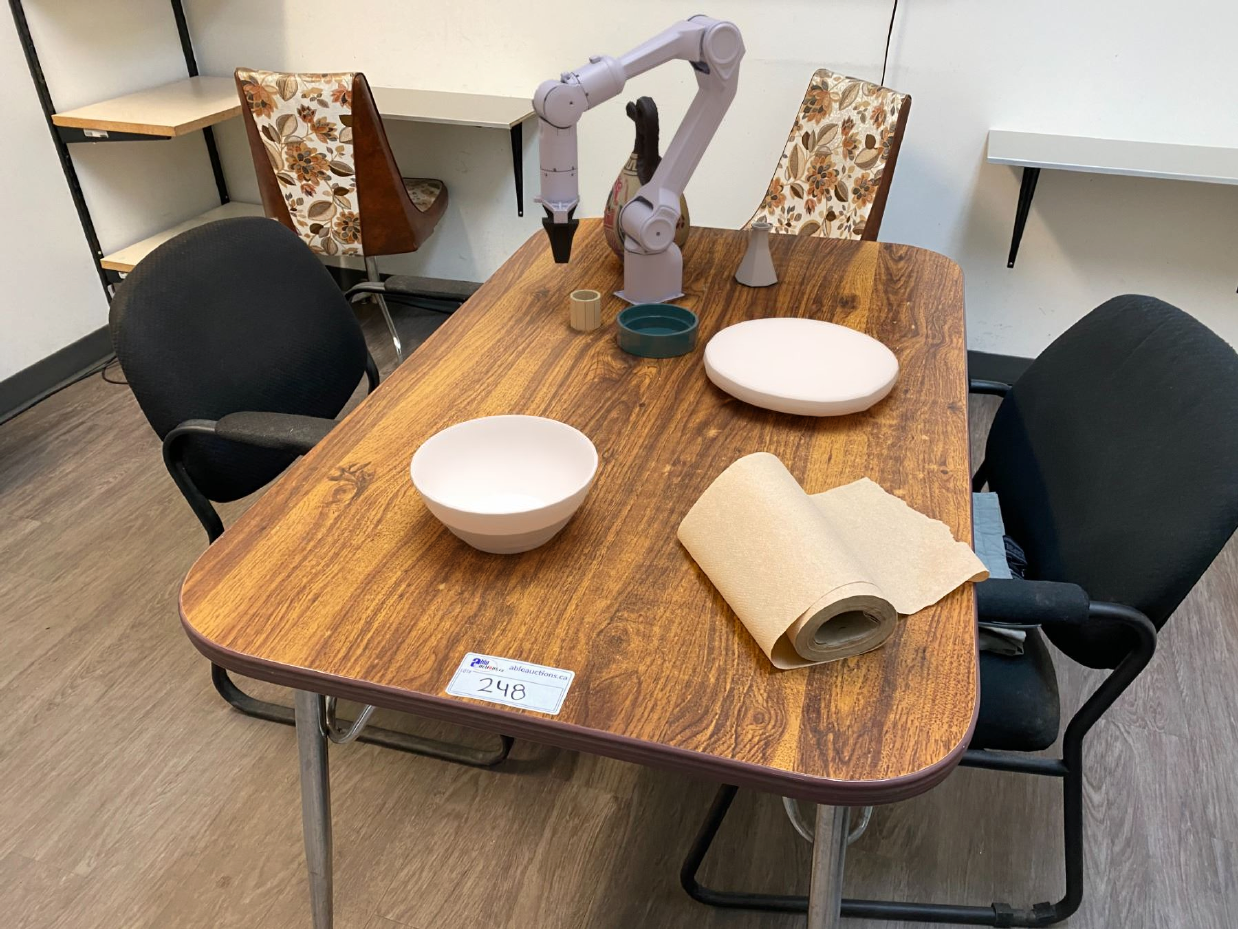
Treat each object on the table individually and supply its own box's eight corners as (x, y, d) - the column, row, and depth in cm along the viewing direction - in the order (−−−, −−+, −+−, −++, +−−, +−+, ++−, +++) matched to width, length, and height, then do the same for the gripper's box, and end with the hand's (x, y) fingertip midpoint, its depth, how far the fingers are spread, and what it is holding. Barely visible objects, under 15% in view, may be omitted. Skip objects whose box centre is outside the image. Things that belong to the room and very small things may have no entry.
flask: (727, 276, 163) (731, 221, 158) (762, 270, 165) (767, 215, 160) (749, 290, 157) (754, 233, 152) (784, 284, 160) (790, 227, 155)
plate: (716, 304, 140) (895, 319, 135) (713, 344, 142) (888, 361, 138) (693, 365, 115) (911, 387, 111) (689, 412, 118) (902, 436, 113)
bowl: (509, 457, 111) (505, 397, 106) (635, 517, 100) (636, 453, 96) (380, 531, 98) (370, 466, 94) (509, 608, 88) (503, 539, 83)
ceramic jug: (597, 255, 172) (595, 85, 156) (676, 250, 174) (683, 82, 158) (612, 288, 158) (613, 105, 142) (699, 282, 160) (709, 102, 144)
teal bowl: (662, 321, 146) (663, 296, 143) (713, 348, 138) (715, 322, 135) (600, 340, 140) (600, 315, 137) (650, 369, 131) (651, 342, 129)
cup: (589, 319, 146) (588, 287, 144) (606, 329, 143) (606, 296, 140) (564, 326, 144) (563, 293, 141) (582, 336, 141) (581, 303, 138)
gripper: (532, 155, 143) (536, 239, 150) (531, 180, 131) (535, 270, 138) (577, 154, 144) (579, 238, 151) (580, 179, 131) (582, 270, 139)
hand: (561, 254), depth 145 cm, fingers open, 7 cm apart
